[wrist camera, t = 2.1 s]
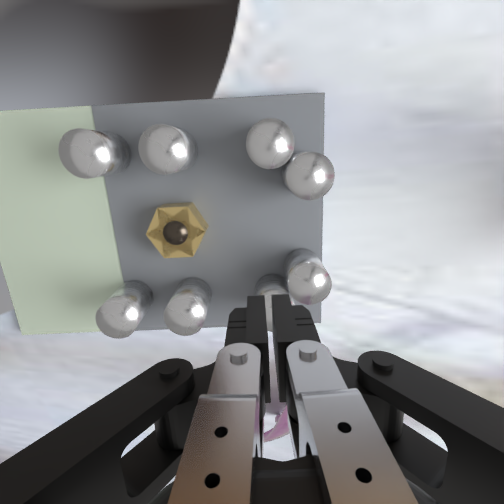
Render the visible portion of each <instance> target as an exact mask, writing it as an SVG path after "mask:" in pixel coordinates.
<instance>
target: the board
mask: <svg viewBox="0 0 504 504" xmlns="http://www.w3.org/2000/svg"><path fill="white" fill-rule="evenodd" d="M324 99H325V93H309V94H291V95H273V96H255V97H237V98H219V99H201V100H183V101H165V102H147V103H131V104H111V105H94V106H78V107H60V108H43V109H25V110H7V111H0V263H1V267H2V270H3V273H4V277H5V280H6V283H7V286H8V290H9V293H10V296H11V299H12V303H13V306H14V310H15V313H16V316H17V319H18V323H19V326H20V329H21V333H22V335H33V334H56V333H80V332H102V331H101V330H100V329H99V328H98V326H97V324H96V320H95V316H96V312H97V310H98V309H99V308H100V307H101V306H102V305H103V304H104V303H105V302H106V300H107V299H108V298H109V297H110V296H111V295H112V294H113V293H114V292H115V291H116V290H117V289H118V288H119V287H120V286H121V285H122V284H123V283H125V282H126V281H129V280H139V281H142V282H144V283H146V284H147V285H148V286H149V287H150V288H151V290H152V292H153V297H154V298H153V303H152V305H151V306H150V308H149V309H148V311H147V312H146V314H145V315H144V317H143V318H142V320H141V321H140V323H139V324H138V326H137V327H136V329H135V330H134V331H138V330H161V329H169V328H168V327H167V326H166V324H165V322H164V317H163V315H164V310H165V308H166V307H167V305H168V303H169V301H170V299H171V298H172V296H173V294H174V292H175V290H176V289H177V287H178V285H179V284H180V282H181V281H183V280H184V279H186V278H189V277H197V278H200V279H202V280H204V281H205V282H207V283H208V285H209V286H210V288H211V292H212V296H211V300H210V304H209V307H208V311H207V314H206V318H205V321H204V324H203V327H202V328H208V327H227V326H228V319H229V314H230V313H231V312H232V311H233V310H234V309H235V308H244V307H247V296H255V285H256V283H257V281H258V280H259V279H260V278H261V277H262V276H264V275H266V274H279V275H281V276H283V277H284V278H285V279H286V276H285V272H284V261H285V258H286V257H287V255H288V254H289V253H290V252H292V251H293V250H296V249H299V248H306V249H309V250H311V251H313V252H314V253H315V254H316V255H317V256H318V258H319V260H320V261H321V263H322V222H323V197H321V198H319V199H316V200H303V199H301V198H298V197H297V196H296V195H294V194H293V193H292V192H291V191H290V189H289V188H288V187H287V186H286V185H285V184H284V182H283V179H282V174H281V173H282V167H283V166H281V167H279V168H276V169H264V168H261V167H259V166H257V165H256V164H255V163H254V162H253V161H252V160H251V159H250V157H249V155H248V153H247V150H246V138H247V135H248V132H249V131H250V129H251V128H252V126H253V125H254V124H255V123H257V122H258V121H260V120H262V119H265V118H276V119H279V120H281V121H283V122H285V123H286V124H287V125H288V126H289V127H290V129H291V131H292V133H293V136H294V141H295V145H294V151H293V154H294V153H297V152H317V153H320V154H323V155H324ZM155 124H166V125H169V126H173V127H176V128H179V129H182V130H185V131H187V132H188V133H190V134H191V135H192V136H193V138H194V139H195V141H196V143H197V147H198V155H197V159H196V161H195V163H194V164H193V165H192V166H191V167H190V168H188V169H186V170H183V171H179V172H176V173H172V174H167V175H162V174H157V173H155V172H153V171H151V170H150V169H148V168H147V167H146V166H145V164H144V163H143V162H142V160H141V158H140V155H139V150H138V144H139V140H140V137H141V135H142V133H143V132H144V131H145V130H146V129H147V128H148V127H150V126H152V125H155ZM76 128H82V129H89V130H97V131H104V132H112V133H116V134H118V135H120V136H121V137H122V138H124V139H125V141H126V142H127V143H128V145H129V147H130V150H131V162H130V164H129V166H128V168H127V169H126V170H125V171H123V172H122V173H119V174H114V175H108V176H102V177H96V178H89V179H84V178H79V177H77V176H74V175H73V174H71V173H70V172H69V171H68V170H67V169H66V168H65V167H64V166H63V164H62V162H61V160H60V157H59V152H58V148H59V142H60V140H61V138H62V136H63V135H64V134H65V133H66V132H68V131H69V130H72V129H76ZM188 202H193V204H194V205H195V206H196V208H197V209H198V211H199V212H200V214H201V215H202V216H203V218H204V219H205V221H206V222H207V224H208V225H209V226H208V229H207V231H206V233H205V235H204V237H203V239H202V241H201V243H200V245H199V247H198V249H197V251H196V253H195V255H194V256H193V257H181V258H163V256H162V255H161V254H160V252H159V251H158V250H157V248H156V247H155V246H154V245H153V243H152V242H151V241H150V239H149V238H148V237H147V235H146V233H147V230H148V228H149V226H150V223H151V221H152V219H153V216H154V214H155V212H156V209H157V208H158V207H160V206H161V205H163V204H168V203H188ZM286 280H287V279H286ZM293 301H294V304H295V305H303V306H304V307H306V308H307V309H308V310H309V311H310V313H311V316H312V319H313V322H314V323H321V302H319V303H317V304H313V305H305V304H301V303H299V302H297V301H296V300H295V299H294V298H293Z"/></svg>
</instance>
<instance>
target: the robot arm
mask: <svg viewBox="0 0 504 504" xmlns="http://www.w3.org/2000/svg"><path fill="white" fill-rule="evenodd" d="M271 301H272V329H273V344H274V354H275V363H276V373H277V382H278V391H279V401H280V402H287V418H288V427H289V432H290V437H291V442H292V447H293V452H294V457H295V459H293V460H289V461H284V462H282V461H276V460H271V459H266V458H263V441H264V415H265V403H271V399H270V374H269V349H268V333H267V321H266V308H265V296H264V295H255V296H247V307H244V308H235V309H234V310H233V311H232V312H231V313H230V314H229V319H228V326H227V332H226V339H225V346H224V348H222V349H221V350H220V351H219V353H218V355H217V359H216V361H215V362H214V363H212V364H210V365H208V366H204V367H201V368H197V369H193V366H192V364H191V363H190V362H189V361H187V360H184V359H179V358H173V359H167V360H164V361H161V362H159V363H157V364H155V365H154V366H152V367H151V368H149V369H148V370H146V371H144V372H143V373H141V374H140V375H138V376H137V377H135V378H134V379H132V380H130V381H129V382H127V383H126V384H124V385H123V386H121V387H119V388H118V389H116V390H115V391H113V392H112V393H110V394H109V395H107V396H105V397H104V398H102V399H101V400H99V401H98V402H96V403H95V404H93V405H91V406H90V407H88V408H87V409H85V410H84V411H82V412H81V413H79V414H77V415H76V416H74V417H73V418H71V419H70V420H68V421H67V422H65V423H63V424H62V425H60V426H59V427H57V428H56V429H54V430H52V431H51V432H49V433H48V434H46V435H45V436H43V437H42V438H40V439H38V440H37V441H35V442H34V443H32V444H31V445H29V446H28V447H26V448H24V449H23V450H21V451H20V452H18V453H17V454H15V455H14V456H12V457H10V458H9V459H7V460H6V461H4V462H3V463H1V464H0V504H504V408H502V407H500V406H498V405H496V404H494V403H492V402H490V401H488V400H486V399H484V398H482V397H480V396H478V395H476V394H474V393H472V392H470V391H467V390H465V389H463V388H461V387H459V386H457V385H455V384H453V383H451V382H449V381H447V380H445V379H443V378H441V377H439V376H437V375H435V374H433V373H431V372H429V371H427V370H424V369H422V368H420V367H418V366H416V365H414V364H412V363H410V362H408V361H406V360H404V359H402V358H400V357H398V356H396V355H394V354H391V353H388V352H384V351H369V352H365V353H363V354H362V355H360V357H359V358H358V363H355V362H349V361H344V360H340V359H337V358H335V357H333V356H332V355H331V353H330V351H329V349H328V348H327V347H326V346H325V345H323V344H322V343H321V342H320V339H319V336H318V333H317V330H316V327H315V325H314V322H313V319H312V316H311V313H310V311H309V310H308V309H307V308H306V307H304V306H303V305H292V304H291V301H290V297H289V294H276V295H271ZM404 413H405V414H407V415H408V416H410V417H412V418H413V419H415V420H416V421H418V422H420V423H421V424H423V425H424V426H426V427H428V428H429V429H431V430H432V431H434V432H435V433H437V434H438V435H439V436H440V437H441V438H442V439H443V441H444V442H445V444H446V446H447V449H448V452H447V451H446V450H444V449H443V448H441V447H439V446H438V445H436V444H435V443H433V442H432V441H430V440H429V439H427V438H426V437H424V436H422V435H421V434H419V433H418V432H416V431H415V430H413V429H412V428H410V427H409V426H407V425H406V424H404V423H403V417H404ZM152 424H155V430H154V431H153V432H152V433H151V434H150V435H148V436H147V437H146V438H145V439H144V440H142V441H141V442H140V443H139V444H138V445H136V446H135V447H134V448H133V449H131V450H130V451H129V452H128V453H127V454H125V455H124V456H123V457H122V458H121V455H122V453H123V451H124V449H125V448H126V446H127V445H128V444H129V443H130V442H131V441H132V440H134V439H135V438H136V437H137V436H139V435H140V434H141V433H142V432H144V431H145V430H146V429H147V428H149V427H150V426H151V425H152ZM175 475H176V477H175V480H174V482H172V483H171V484H169V485H168V486H166V485H167V484H168V483H169V482H170V481H171V479H172V478H173V477H174V476H175ZM165 486H166V487H165ZM164 487H165V488H164ZM163 488H164V489H163ZM162 489H163V490H162Z"/></svg>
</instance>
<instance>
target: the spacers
mask: <svg viewBox="0 0 504 504" xmlns="http://www.w3.org/2000/svg"><path fill="white" fill-rule="evenodd" d="M294 145H295V141H294V136H293V133H292V131H291V129H290V127H289V126H288V125H287V124H286V123H285V122H283V121H281V120H279V119H276V118H265V119H262V120H260V121H258V122H257V123H255V124H254V125H253V126H252V128H251V129H250V131H249V132H248V135H247V138H246V150H247V153H248V155H249V157H250V159H251V160H252V161H253V162H254V163H255V164H256V165H257V166H259V167H261V168H264V169H276V168H279V167H281V166H283V167H282V173H281V174H282V179H283V182H284V184H285V185H286V186H287V187H288V188H289V189H290V191H291V192H292V193H293V194H294V195H296V196H297V197H298V198H301V199H303V200H316V199H319V198H321V197H323V196H324V195H325V194H326V193H327V192H328V191H329V190H330V188H331V187H332V185H333V182H334V168H333V165H332V163H331V162H330V160H329V159H328V158H327V157H326V156H324V155H323V154H320V153H317V152H297V153H294V154H293V151H294ZM138 150H139V155H140V158H141V160H142V162H143V163H144V164H145V166H146V167H147V168H148V169H150V170H151V171H153V172H155V173H157V174H162V175H167V174H172V173H176V172H179V171H183V170H186V169H188V168H190V167H191V166H192V165H193V164H194V163H195V161H196V159H197V155H198V147H197V143H196V141H195V139H194V138H193V136H192V135H191V134H190V133H188V132H187V131H185V130H182V129H179V128H176V127H173V126H169V125H166V124H155V125H152V126H150V127H148V128H147V129H146V130H145V131H144V132H143V133H142V135H141V137H140V140H139V144H138ZM58 152H59V157H60V160H61V162H62V164H63V166H64V167H65V168H66V169H67V170H68V171H69V172H70V173H71V174H73V175H74V176H77V177H79V178H84V179H89V178H96V177H102V176H108V175H114V174H119V173H122V172H123V171H125V170H126V169H127V168H128V166H129V164H130V162H131V150H130V147H129V145H128V143H127V142H126V141H125V139H124V138H122V137H121V136H120V135H118V134H116V133H112V132H104V131H97V130H89V129H82V128H76V129H72V130H69V131H68V132H66V133H65V134H64V135H63V136H62V138H61V140H60V142H59V148H58ZM284 272H285V276H286V279H287V280H286V279H285V278H284V277H283V276H281V275H279V274H266V275H264V276H262V277H261V278H260V279H259V280H258V281H257V283H256V285H255V295H264V296H265V308H266V321H267V331H271V332H273V329H272V301H271V295H276V294H289V297H290V301H291V304H292V305H295V304H294V301H293V298H294V299H295V300H296V301H297V302H299V303H301V304H305V305H313V304H317V303H319V302H321V301H323V300H324V299H325V298H326V297H327V296H328V295H329V293H330V290H331V286H332V283H331V278H330V276H329V274H328V273H327V271H326V269H325V268H324V266H323V264H322V263H321V261H320V260H319V258H318V256H317V255H316V254H315V253H314V252H313V251H311V250H309V249H306V248H299V249H296V250H293V251H292V252H290V253H289V254H288V255H287V257H286V258H285V261H284ZM211 296H212V292H211V288H210V286H209V285H208V283H207V282H205V281H204V280H202V279H200V278H197V277H189V278H186V279H184V280H183V281H181V282H180V284H179V285H178V287H177V289H176V290H175V292H174V294H173V296H172V298H171V299H170V301H169V303H168V305H167V307H166V308H165V310H164V315H163V317H164V322H165V324H166V326H167V327H168V328H169V329H170V330H171V331H172V332H174V333H176V334H178V335H183V336H188V335H192V334H195V333H197V332H198V331H199V330H200V329H201V328H202V327H203V324H204V321H205V318H206V314H207V311H208V307H209V304H210V300H211ZM153 298H154V297H153V292H152V290H151V288H150V287H149V286H148V285H147V284H146V283H144V282H142V281H139V280H129V281H126V282H125V283H123V284H122V285H121V286H120V287H119V288H118V289H117V290H116V291H115V292H114V293H113V294H112V295H111V296H110V297H109V298H108V299H107V300H106V302H105V303H104V304H103V305H102V306H101V307H100V308H99V309H98V310H97V312H96V316H95V320H96V324H97V326H98V328H99V329H100V330H101V331H102V332H103V333H104V334H105V335H107V336H109V337H112V338H125V337H128V336H129V335H131V334H132V333H133V332H134V330H135V329H136V327H137V326H138V324H139V323H140V321H141V320H142V318H143V317H144V315H145V314H146V312H147V311H148V309H149V308H150V306H151V305H152V303H153Z"/></svg>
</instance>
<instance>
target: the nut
mask: <svg viewBox="0 0 504 504" xmlns="http://www.w3.org/2000/svg"><path fill="white" fill-rule="evenodd" d="M208 226H209V225H208V224H207V222H206V221H205V219H204V218H203V216H202V215H201V214H200V212H199V211H198V209H197V208H196V206H195V205H194V204H193V202H188V203H168V204H163V205H161V206H160V207H158V208H157V209H156V212H155V214H154V216H153V219H152V221H151V223H150V226H149V228H148V230H147V233H146V235H147V237H148V238H149V239H150V241H151V242H152V243H153V245H154V246H155V247H156V248H157V250H158V251H159V252H160V254H161V255H162V256H163V258H181V257H193V256H194V255H195V253H196V251H197V249H198V247H199V245H200V243H201V241H202V239H203V237H204V235H205V233H206V231H207V229H208Z"/></svg>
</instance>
